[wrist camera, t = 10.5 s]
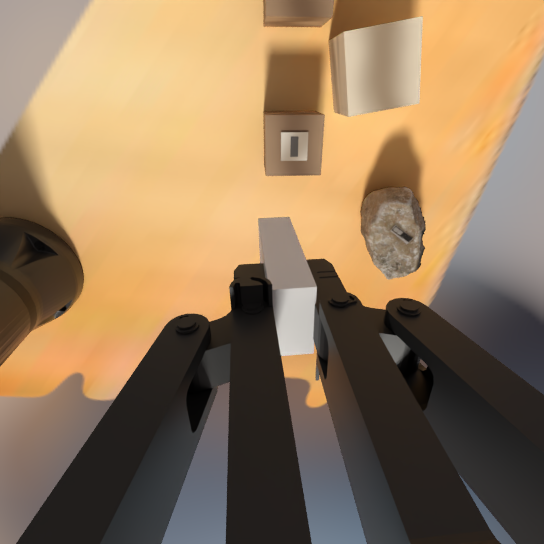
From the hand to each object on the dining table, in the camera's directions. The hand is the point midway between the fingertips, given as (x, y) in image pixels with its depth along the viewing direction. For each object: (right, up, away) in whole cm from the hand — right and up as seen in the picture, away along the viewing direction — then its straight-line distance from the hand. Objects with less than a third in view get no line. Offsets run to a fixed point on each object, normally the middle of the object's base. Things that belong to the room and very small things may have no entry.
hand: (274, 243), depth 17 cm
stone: (+16, +5, +30) cm, 34 cm away
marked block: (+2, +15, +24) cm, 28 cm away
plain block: (+10, +21, +21) cm, 31 cm away
